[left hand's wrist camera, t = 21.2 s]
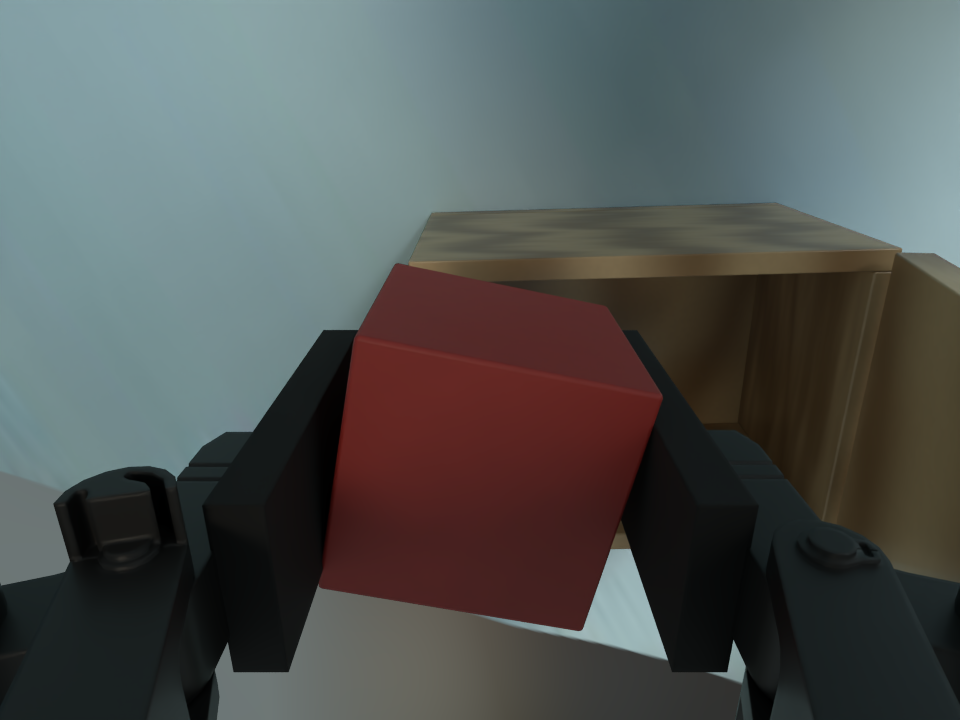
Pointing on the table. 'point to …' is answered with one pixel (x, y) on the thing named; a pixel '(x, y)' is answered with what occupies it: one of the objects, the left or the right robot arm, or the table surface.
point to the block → (485, 449)
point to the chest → (710, 310)
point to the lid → (911, 424)
